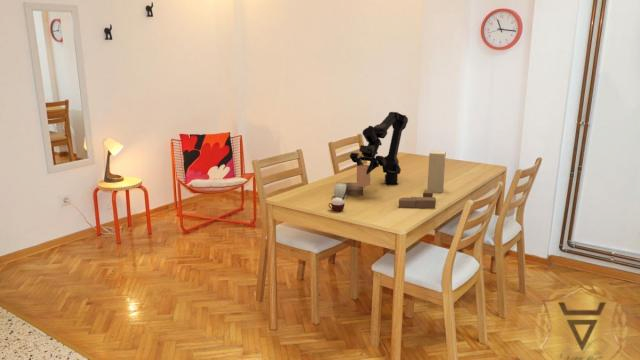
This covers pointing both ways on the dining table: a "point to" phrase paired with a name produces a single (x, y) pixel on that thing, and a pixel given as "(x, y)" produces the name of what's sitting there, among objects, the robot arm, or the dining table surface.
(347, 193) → the walnut slab
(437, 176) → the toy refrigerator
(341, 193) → the grey green canister
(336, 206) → the cocoa
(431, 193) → the wooden block set
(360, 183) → the terracotta block
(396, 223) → the dining table surface
